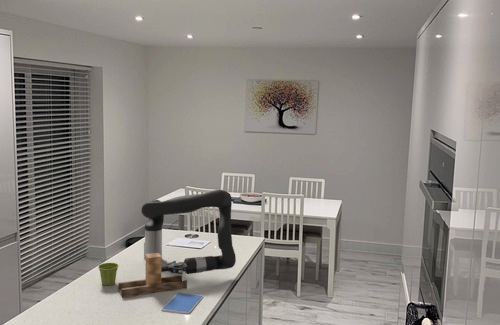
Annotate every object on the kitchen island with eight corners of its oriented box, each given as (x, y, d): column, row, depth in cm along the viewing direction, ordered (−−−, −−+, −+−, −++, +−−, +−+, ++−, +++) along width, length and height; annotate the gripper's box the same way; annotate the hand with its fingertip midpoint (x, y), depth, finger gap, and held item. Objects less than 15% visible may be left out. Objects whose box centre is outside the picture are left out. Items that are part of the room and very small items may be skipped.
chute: (181, 281, 232) (181, 274, 232) (187, 288, 223) (187, 281, 222) (118, 289, 219) (118, 282, 219) (122, 297, 210) (121, 290, 210)
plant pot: (122, 281, 230) (122, 264, 229) (110, 288, 221) (110, 270, 220) (106, 278, 233) (106, 261, 232) (94, 285, 224) (93, 267, 223)
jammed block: (158, 283, 225) (158, 252, 223) (161, 287, 220) (161, 256, 218) (145, 285, 223) (145, 254, 221) (148, 289, 217) (148, 257, 215)
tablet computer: (177, 294, 217) (177, 292, 217) (203, 297, 214) (203, 295, 214) (160, 312, 198) (160, 309, 198) (189, 315, 195) (189, 312, 195)
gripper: (191, 253, 234) (156, 257, 227) (199, 261, 222) (163, 266, 215) (190, 268, 235) (156, 272, 228) (199, 277, 223) (163, 282, 216)
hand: (159, 269), depth 222 cm, fingers closed
